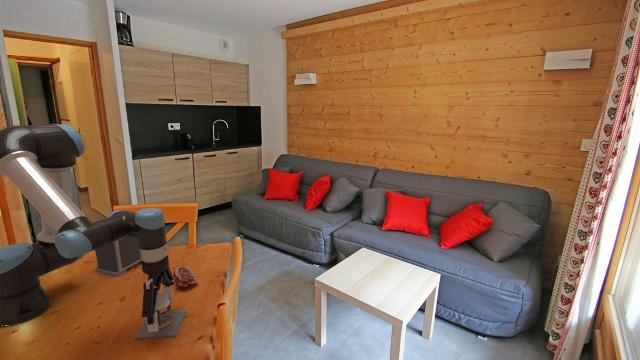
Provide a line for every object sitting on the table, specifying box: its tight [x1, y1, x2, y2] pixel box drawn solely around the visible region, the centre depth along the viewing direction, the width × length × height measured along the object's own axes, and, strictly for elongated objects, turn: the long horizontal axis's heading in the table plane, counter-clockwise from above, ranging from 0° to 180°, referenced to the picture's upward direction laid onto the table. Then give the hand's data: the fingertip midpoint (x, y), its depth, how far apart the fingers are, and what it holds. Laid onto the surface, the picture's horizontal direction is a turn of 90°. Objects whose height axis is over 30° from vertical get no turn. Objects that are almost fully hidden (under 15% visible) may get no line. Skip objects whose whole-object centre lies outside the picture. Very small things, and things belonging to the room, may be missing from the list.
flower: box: [172, 264, 198, 289], centre depth 122 cm, size 10×9×8 cm
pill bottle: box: [155, 292, 172, 328], centre depth 99 cm, size 6×6×10 cm
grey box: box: [94, 237, 142, 278], centre depth 136 cm, size 18×13×18 cm
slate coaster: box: [134, 309, 188, 341], centre depth 100 cm, size 12×12×1 cm
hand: (161, 316), depth 100 cm, fingers open, 13 cm apart
